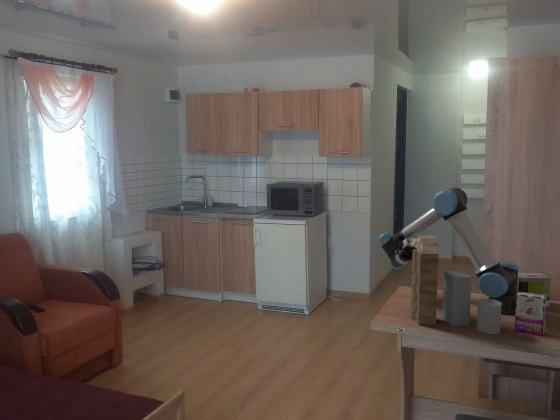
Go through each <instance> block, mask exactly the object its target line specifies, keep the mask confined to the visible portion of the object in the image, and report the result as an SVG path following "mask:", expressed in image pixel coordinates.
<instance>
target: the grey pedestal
mask: <svg viewBox="0 0 560 420" xmlns="http://www.w3.org/2000/svg"><path fill="white" fill-rule="evenodd" d="M443 272H444V273H443V294H442V295H443V298H442V315H441V316H442V317H441V319H442V320H444V321H445V322H446V323H448V324H449V325H450V326H451V327H458V326H459V327H460V326H462V327H463V326H470V320H471V319H470V316H471V315H470V314H471V296H472V294H471V292H472V276H471V275H469V274H467V273H466V272H464V271H462V270H451V271H450V270H447V271H443Z"/></svg>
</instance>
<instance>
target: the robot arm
mask: <svg viewBox="0 0 560 420" xmlns="http://www.w3.org/2000/svg"><path fill="white" fill-rule="evenodd" d="M467 204H468V196H467V193H466V192H465V191H464V190H463V189H461V188H458V187H451V188H445V189H442V190H440V191H438V192H437V193H436V194H435V195H434V196H433V198H432V208H430V209H429V210H427V211H426V212H424V213H423V214H421V215H420V216H419V217H417V218H416V219H414V221H412V222H410V223H409V224H408V225H406V226H405V227H404V228H402V229H401V230H399V231H398V232H397V233H395V234H392V233H390V232H389V231H386V232H384V233H383V234H381V235H380V236H378V238H377V241H378V243H379V246H380V247H381V248H382V250H383V251H384V252H385V254H386V256H387V258H388V259H389V265H390V266H391V268H392V269H394V270H401V269H403V268H404V267H406V265H408V263H410V261H411V262H412V253H413V249H417V248H415V247H414V246H412V245H411V246H410V245H409V244H410V238H418V236H421V234H423V233H424V232H426V231H428V230H429V229H430V228H432V227H434V225H436V224H438V223H439V222H440V221H442V220H443V221H444V222H445V223H449V224H450V226H451V228H452V229H453V231H454V232H455V234H456V236H457V238H458V240H459V242H460V243H461V245H462V247H463V248H464V250H465V251H466V253H467V255H468V257H469V258H470V260H471V262H472V264H473V266H474V267H475V272H474V274H475V276H476V277H477V279H478V283H477V284H478V288H479V290H480V291H481V293H483V294H484V295H485V296H487V299H492V300H496V301H499V302H501V303H502V306H501V315H515V311H516V294H517V283H518V273H520V272H519V265H518V264H516V263H514V262H507V261H497V260H494V258H493V257H492V254H491V253H490V250H489V249H488V248H487V246H486V244H485V242H484V240H482V237H481V236H480V234H479V232H478V230H477V229H476V228H475V226H474V224H473V223H472V221H471V219H470V217H469V216H468V211H469V208H468V207H467Z"/></svg>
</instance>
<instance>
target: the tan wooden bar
mask: <svg viewBox="0 0 560 420" xmlns="http://www.w3.org/2000/svg"><path fill="white" fill-rule="evenodd" d="M409 244H410V245H411V247H413V246H414V247H415V248H417V249H418V252H419V253H421V254H437V253H438V252H439V250H438V247H439V245H438V244H439V237H438V236H437V237H436V236H435V235H419V236H417V237H416V238H410V242H409ZM410 245H409V246H410Z"/></svg>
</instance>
